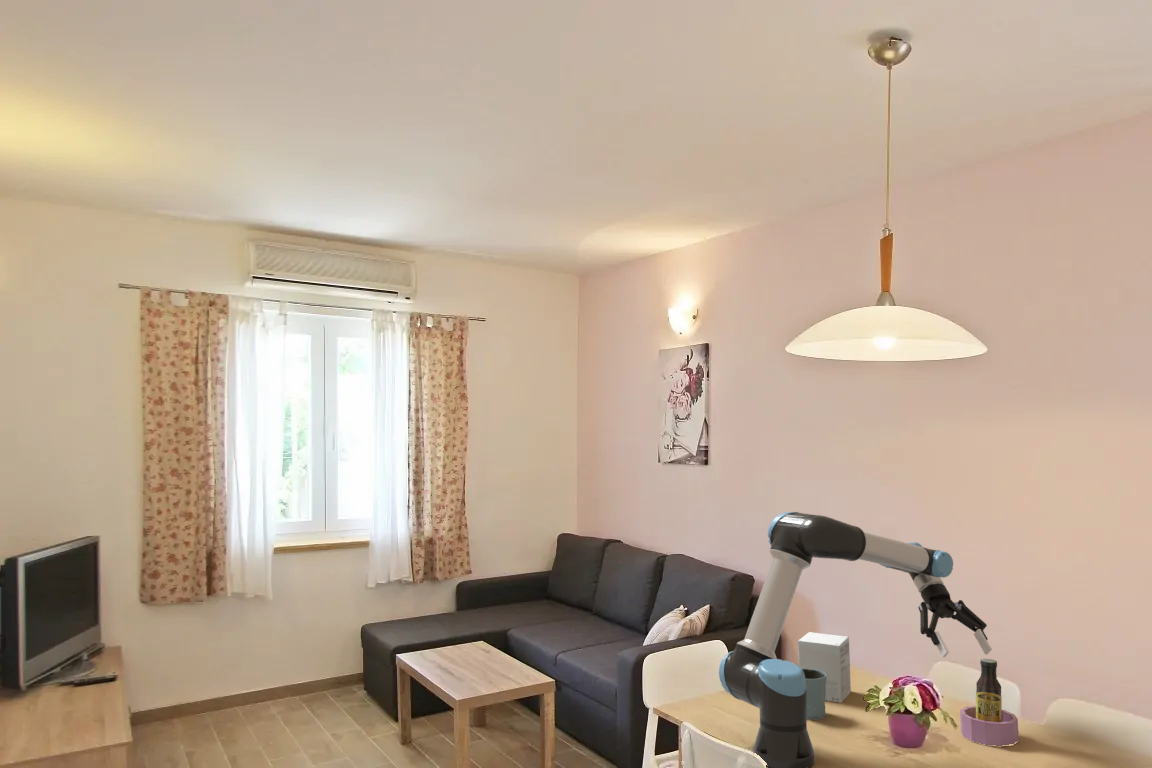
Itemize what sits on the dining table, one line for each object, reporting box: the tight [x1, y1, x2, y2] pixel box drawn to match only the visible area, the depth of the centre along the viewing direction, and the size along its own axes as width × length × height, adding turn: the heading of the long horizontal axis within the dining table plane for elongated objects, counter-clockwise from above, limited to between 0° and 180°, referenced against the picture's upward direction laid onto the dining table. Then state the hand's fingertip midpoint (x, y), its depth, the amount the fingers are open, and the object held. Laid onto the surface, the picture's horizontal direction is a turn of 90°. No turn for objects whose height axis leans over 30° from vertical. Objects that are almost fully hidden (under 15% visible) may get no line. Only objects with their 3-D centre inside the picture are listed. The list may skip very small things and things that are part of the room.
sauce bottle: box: [975, 658, 1003, 722], centre depth 217 cm, size 6×6×20 cm
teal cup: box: [802, 668, 826, 721], centre depth 235 cm, size 10×10×12 cm
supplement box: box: [797, 631, 852, 704], centre depth 254 cm, size 13×13×18 cm
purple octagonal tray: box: [959, 705, 1020, 746], centre depth 216 cm, size 14×14×6 cm
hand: (967, 653), depth 225 cm, fingers open, 13 cm apart
